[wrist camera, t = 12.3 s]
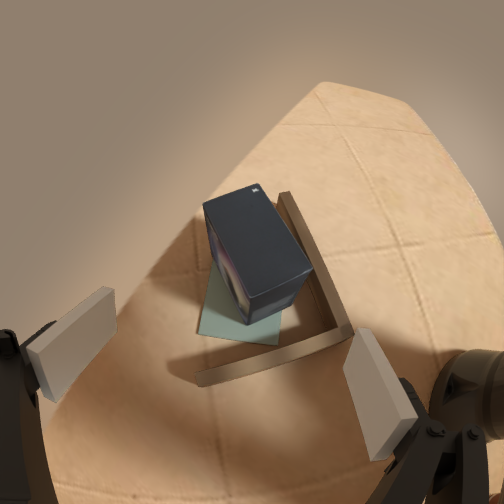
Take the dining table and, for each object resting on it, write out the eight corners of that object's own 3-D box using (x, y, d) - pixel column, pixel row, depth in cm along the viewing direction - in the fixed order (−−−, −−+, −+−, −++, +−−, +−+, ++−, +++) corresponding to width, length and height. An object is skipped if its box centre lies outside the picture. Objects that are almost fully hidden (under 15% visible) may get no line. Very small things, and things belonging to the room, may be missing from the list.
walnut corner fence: (285, 206, 40) (289, 191, 36) (344, 341, 31) (355, 334, 28) (166, 235, 36) (160, 220, 33) (202, 387, 28) (198, 387, 25)
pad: (287, 246, 36) (287, 244, 36) (277, 345, 30) (278, 345, 30) (218, 236, 37) (218, 235, 36) (198, 334, 30) (198, 334, 30)
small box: (207, 253, 35) (197, 200, 26) (253, 234, 37) (259, 179, 28) (244, 329, 31) (247, 299, 22) (294, 305, 32) (317, 266, 23)
